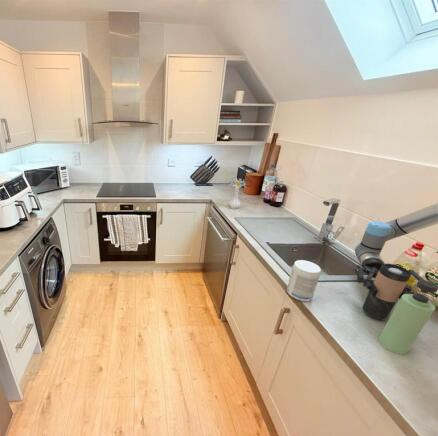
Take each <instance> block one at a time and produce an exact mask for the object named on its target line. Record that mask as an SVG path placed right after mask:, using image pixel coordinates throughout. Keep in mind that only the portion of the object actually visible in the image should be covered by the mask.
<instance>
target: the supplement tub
mask: <svg viewBox="0 0 438 436" xmlns="http://www.w3.org/2000/svg"><path fill="white" fill-rule="evenodd" d="M321 271H322V269H321V267H320V266H319V265H318V264H317V263H314V262H312V261H309V260H304V259H297V260H295V261H294V264H293V265H292V268H291V271H290V272H291V273H290V276H289V279H288V282H287V287H286V293H287V294H288V295H289V296H290V297H291V298H293V299H295V300H297V301H300V302H310V301H311V300H312V299H313V297H314V295H315V291H316V288H317V285H318V284H319V283H318V282H319V280H320V276H321Z"/></svg>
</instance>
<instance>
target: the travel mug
mask: <svg viewBox="0 0 438 436" xmlns="http://www.w3.org/2000/svg"><path fill="white" fill-rule="evenodd" d="M408 270H409V269H406V268H405V267H403V266H400V265H397V264H393V263H385V264H384V265H382V266H381V268H380V270H379V272H378V274H377V276H376V278H374V280H373V282H374V284H375V286H376V288H377V290H378V292H377V294H376V296H375V297H372V295H371V293H370V290H369V289H368V290H369V291H368V293H367V295H366V297H365V300H364V302H363V305H362V310H363V312H364V313H365V314H367V315H368V316H370V317H371V318H374V319H377V320H386V319H387V318H389V315H390V314H391V313H392V310H394V309H393V308H395V307H396V306H395V305H397V303H398V302H399V300H400V299H399V297H400V295H401V293H402V291H403V289H404V288H405V286H406V284H407V285H408V282H409V280H410V278H411V276H412V275H411V274H410V273H409V272H408Z"/></svg>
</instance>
